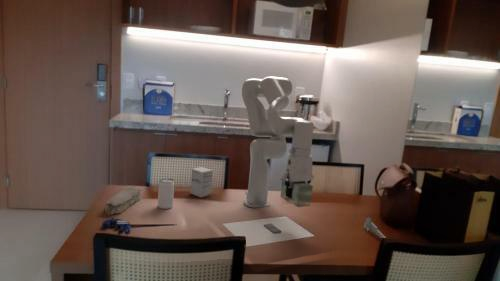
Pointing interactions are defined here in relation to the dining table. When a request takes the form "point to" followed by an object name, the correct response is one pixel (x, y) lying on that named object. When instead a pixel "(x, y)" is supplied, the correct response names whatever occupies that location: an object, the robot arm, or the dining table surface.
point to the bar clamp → (125, 224)
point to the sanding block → (298, 194)
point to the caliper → (372, 228)
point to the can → (165, 193)
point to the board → (262, 235)
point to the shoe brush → (122, 200)
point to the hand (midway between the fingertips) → (295, 196)
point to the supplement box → (201, 181)
